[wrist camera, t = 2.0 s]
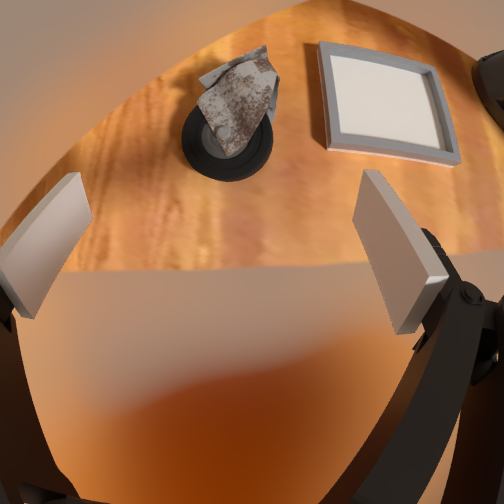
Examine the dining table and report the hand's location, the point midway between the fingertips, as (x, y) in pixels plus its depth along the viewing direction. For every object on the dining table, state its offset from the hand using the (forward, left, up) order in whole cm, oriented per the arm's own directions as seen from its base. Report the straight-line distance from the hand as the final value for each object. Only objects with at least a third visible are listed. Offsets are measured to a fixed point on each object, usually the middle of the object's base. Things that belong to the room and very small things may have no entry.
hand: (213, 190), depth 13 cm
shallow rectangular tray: (-17, -16, -15) cm, 27 cm away
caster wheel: (0, -10, -15) cm, 18 cm away
